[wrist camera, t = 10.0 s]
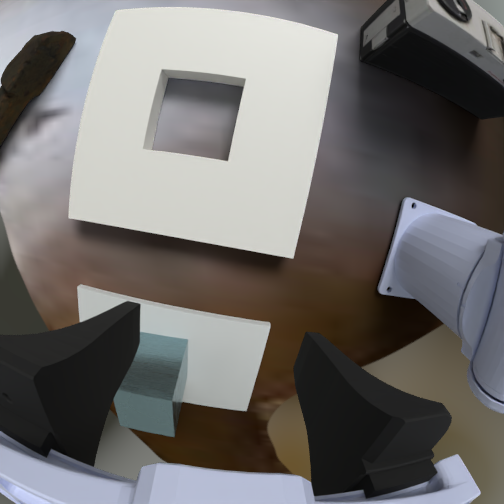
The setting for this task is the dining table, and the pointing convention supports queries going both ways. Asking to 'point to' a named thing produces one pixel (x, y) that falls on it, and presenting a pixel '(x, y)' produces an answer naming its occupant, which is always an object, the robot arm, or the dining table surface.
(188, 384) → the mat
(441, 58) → the camera
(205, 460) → the dining table surface
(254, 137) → the plate
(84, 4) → the dining table surface
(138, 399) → the teal rectangular block
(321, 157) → the dining table surface
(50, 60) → the dark brown wooden bar
